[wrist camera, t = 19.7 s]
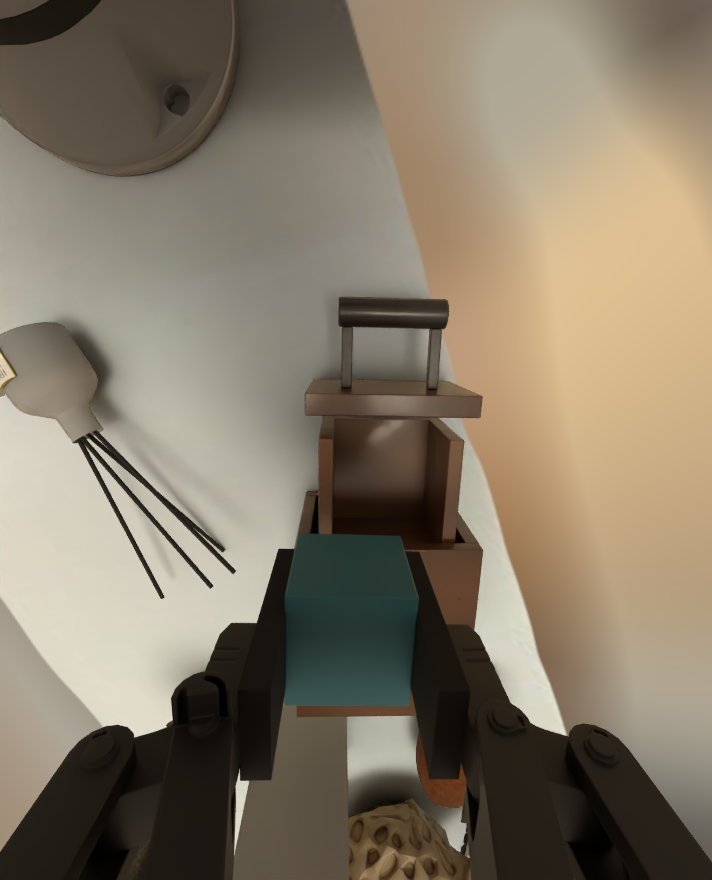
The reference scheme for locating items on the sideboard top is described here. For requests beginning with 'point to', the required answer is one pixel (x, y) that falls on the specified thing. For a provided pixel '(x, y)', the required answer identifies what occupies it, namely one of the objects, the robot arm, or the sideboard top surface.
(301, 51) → the sideboard top surface
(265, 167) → the sideboard top surface
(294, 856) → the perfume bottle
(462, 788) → the potato
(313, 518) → the cabinet
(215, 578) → the sideboard top surface
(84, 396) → the reed diffuser
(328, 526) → the drawer
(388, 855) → the teapot
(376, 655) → the block
